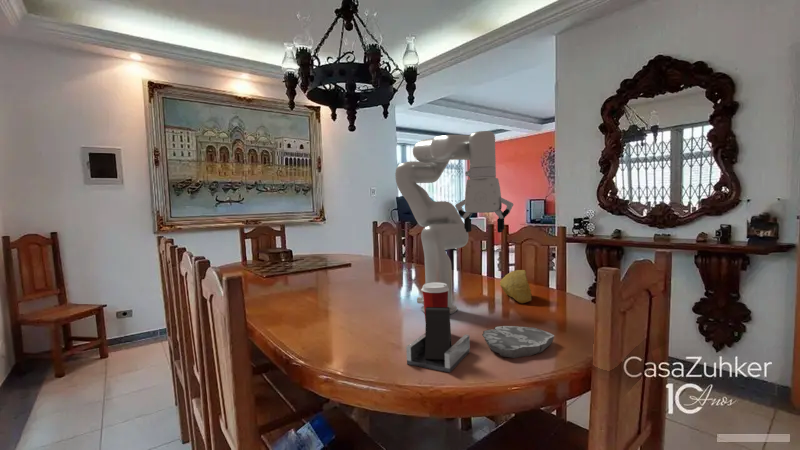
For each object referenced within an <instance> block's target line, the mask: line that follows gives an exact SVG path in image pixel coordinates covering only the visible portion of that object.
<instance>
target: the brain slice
mask: <svg viewBox="0 0 800 450" xmlns="http://www.w3.org/2000/svg"><path fill="white" fill-rule="evenodd" d="M482 332H483V333H482V337H483V338H484V340H485V343H486V344H487V346H488V347H489V348H490V349H491V351H492V352H493V353H497V354H499V356H501V357H504V358H512V359H517V358H521V357H530V356H533V355H536V354H540V353H543V351H544V350H546V349H547V348H548V347H549V346H551V344H552V343H553V341H554V338H555V335H554V333H551V332H549V331H546V330H543V329H541V328H537V327H529V326H528V327H527V326H517V325H502V326H494V328H493V329H490V328H489V329H486V330H483V331H482Z"/></svg>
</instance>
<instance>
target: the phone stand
mask: <svg viewBox="0 0 800 450" xmlns="http://www.w3.org/2000/svg"><path fill="white" fill-rule="evenodd" d="M425 317H426V322H425V331H424V332H425V333H424V334H425V360H445V352H446V351H448V350H449V349H450V348H451V347H452V345H453V344H452V332H451V331H452V329H451V314H450V308H449V307H426V310H425V313H424V318H425Z"/></svg>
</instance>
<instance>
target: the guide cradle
mask: <svg viewBox="0 0 800 450" xmlns="http://www.w3.org/2000/svg"><path fill="white" fill-rule="evenodd" d="M470 339H471V338H470V334H464V335H463V336H462V337H460V339H458V340H457V341H456V342H455V343H454V344H452V347H451V348H450V349H449V350H448V351H446V352H445V360H425V333H423V334H422V335H421V336H419V337H418V338H416V339H415V340H413V341H412V342H411V343H409V344H408V345H407V346H406V365H408V364H409V366H415V367H418V366H419V368H422V369H423V368H425V369H428V368H429V369H428V370H435V371H439V372H443V371H444V373H448V372H449V373H452V371H453V370H454V369H455V368H456V367H457V366H458V365H459V364H460V363H461V362H462V361H463V359H464V358H465V357H466V356H468V354H470V353H471V347H470V346H471V345H470V341H471V340H470ZM449 373H448V374H449Z"/></svg>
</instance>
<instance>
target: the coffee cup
mask: <svg viewBox="0 0 800 450" xmlns="http://www.w3.org/2000/svg"><path fill="white" fill-rule="evenodd" d="M448 290H449V288H448V286H447V284H445V283H437V282H435V283H426V282H425V283H424V284H423V285H422V288H421V289H420V291H421V292H422V297H423V300H424V305H423V306H424V311H425V310H426V307H448ZM424 321H425V323H426V317H425V316H424Z"/></svg>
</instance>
